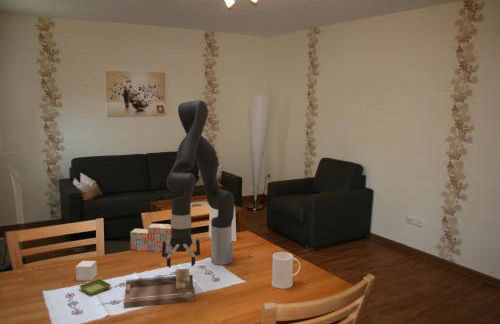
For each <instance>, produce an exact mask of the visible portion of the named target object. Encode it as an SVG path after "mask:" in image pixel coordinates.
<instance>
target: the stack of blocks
mask: <svg viewBox="0 0 500 324" xmlns="http://www.w3.org/2000/svg"><path fill="white" fill-rule="evenodd" d="M129 232H130V233H129V236H130V237H129V238H130V250H131V251H139V252H141V251H142V252H157V253H162V244H163V240H166V241H170V240H171V223H170V224H169V223H152V224H151V223H150V225H149V226H148V227H147V229H146V228H134V229H133V230H131V231H129ZM171 248H172V246H171V245H170V244H168V246H167V247H166V250H165V253H168V252H169V251H170V249H171Z"/></svg>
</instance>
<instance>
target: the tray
mask: <svg viewBox="0 0 500 324" xmlns="http://www.w3.org/2000/svg"><path fill="white" fill-rule="evenodd" d="M193 280H194V277H193V274H190V288H186V289H185V294H183V289H182V288H179V289H176V275H171V276H170V275H169V276H157V277H147V278H134V279H133V278H132V279H126V282H125V283H126V284H125V290H124V292H125V294H124V299H123V308H124V309H125V308H127V309H128V308H137V307H145V306H157V305H165V304H166V305H167V304H176V303H177V304H178V303H186V302H187V303H188V302H189V303H190V302H196V293H195V287H194V281H193Z"/></svg>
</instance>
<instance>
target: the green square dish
mask: <svg viewBox="0 0 500 324" xmlns="http://www.w3.org/2000/svg"><path fill="white" fill-rule="evenodd" d="M111 286H112V285H111V283H109V282H107V281H104V279H101V278H97V279H93V280H91V281H88V282H86V283H83V284H80V285H79V286H78V287H80V289H81V290H82V291H84V292H86V293H88V295H96V294H98V293H100V292H103V291H106V290H108V289H109V288H110V287H111Z"/></svg>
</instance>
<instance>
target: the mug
mask: <svg viewBox="0 0 500 324" xmlns="http://www.w3.org/2000/svg"><path fill="white" fill-rule="evenodd" d="M294 261H295V262H297V263H298V269H297V271H296V272H295V273H294V272H293V268H294V267H293V266H294V265H293V264H294ZM271 266H272V268H271V270H272V271H271V272H272V273H271V274H272V275H271V286H272V287H274V288H276V289H281V290H282V289H283V290H285V289H290V288H291V287H293V278H294V277H295V276H297V275H298V274H299V272H300V270H301V263H300V261H299V259H297V258H295V257H294V256H293V254H292V253H290V252H285V251H278V252H274V253H272V265H271Z"/></svg>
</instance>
